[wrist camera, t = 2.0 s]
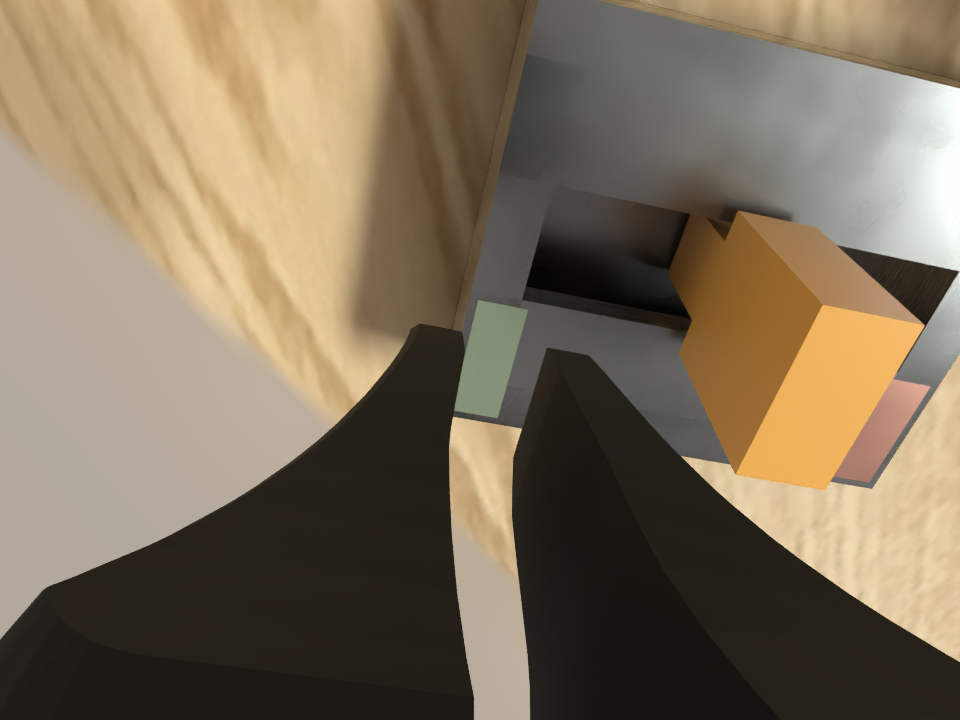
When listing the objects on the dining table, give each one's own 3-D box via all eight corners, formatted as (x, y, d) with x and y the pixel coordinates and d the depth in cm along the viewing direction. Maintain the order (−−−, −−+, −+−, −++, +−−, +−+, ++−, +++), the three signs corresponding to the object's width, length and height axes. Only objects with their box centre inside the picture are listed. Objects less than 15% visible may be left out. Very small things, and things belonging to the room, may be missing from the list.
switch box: (826, 423, 23) (872, 489, 20) (446, 354, 21) (442, 415, 19) (1015, 95, 17) (1109, 125, 15) (531, -25, 16) (542, -14, 14)
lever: (716, 312, 20) (825, 489, 14) (653, 300, 20) (735, 474, 13) (771, 186, 18) (925, 325, 12) (702, 171, 18) (822, 304, 12)
